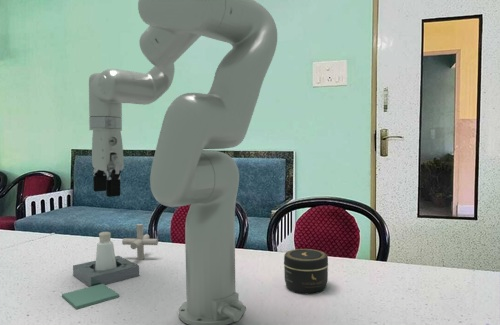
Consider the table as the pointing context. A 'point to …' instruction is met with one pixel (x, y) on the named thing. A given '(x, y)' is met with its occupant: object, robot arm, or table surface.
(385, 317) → the table surface
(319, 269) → the jar
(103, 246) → the pepper shaker
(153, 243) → the pipe connector
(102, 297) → the mat
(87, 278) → the frame
